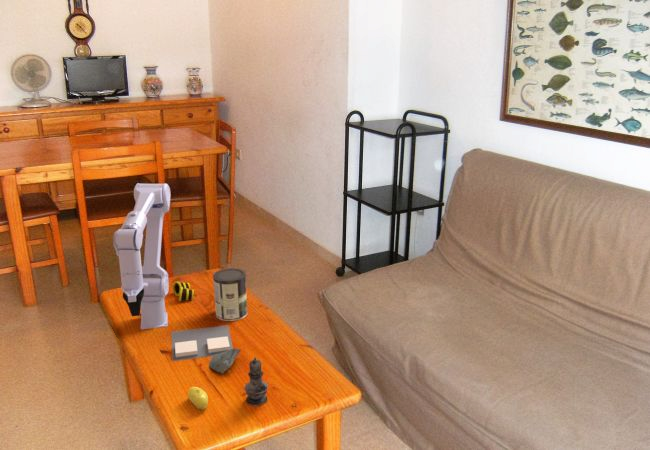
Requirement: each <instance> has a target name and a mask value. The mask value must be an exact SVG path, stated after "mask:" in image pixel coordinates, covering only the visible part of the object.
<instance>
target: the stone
mask: <svg viewBox="0 0 650 450" xmlns="http://www.w3.org/2000/svg"><path fill="white" fill-rule="evenodd" d="M241 350H242V349H239V348H233V349H231V350H228V351H226V352H223V353H220V354H215V355H213V356H211V357H210V360H209V363H208V367H209V368H210V369H212V370H214V371H215V372H217V373H219V374H221V375H223V374H224V373H225V372H227V370H228V371H229V370H230V367H231V366H232V365H233V363H234V362H235V360H236V358H237V357H238V355H239V354H240V353H241Z"/></svg>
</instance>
